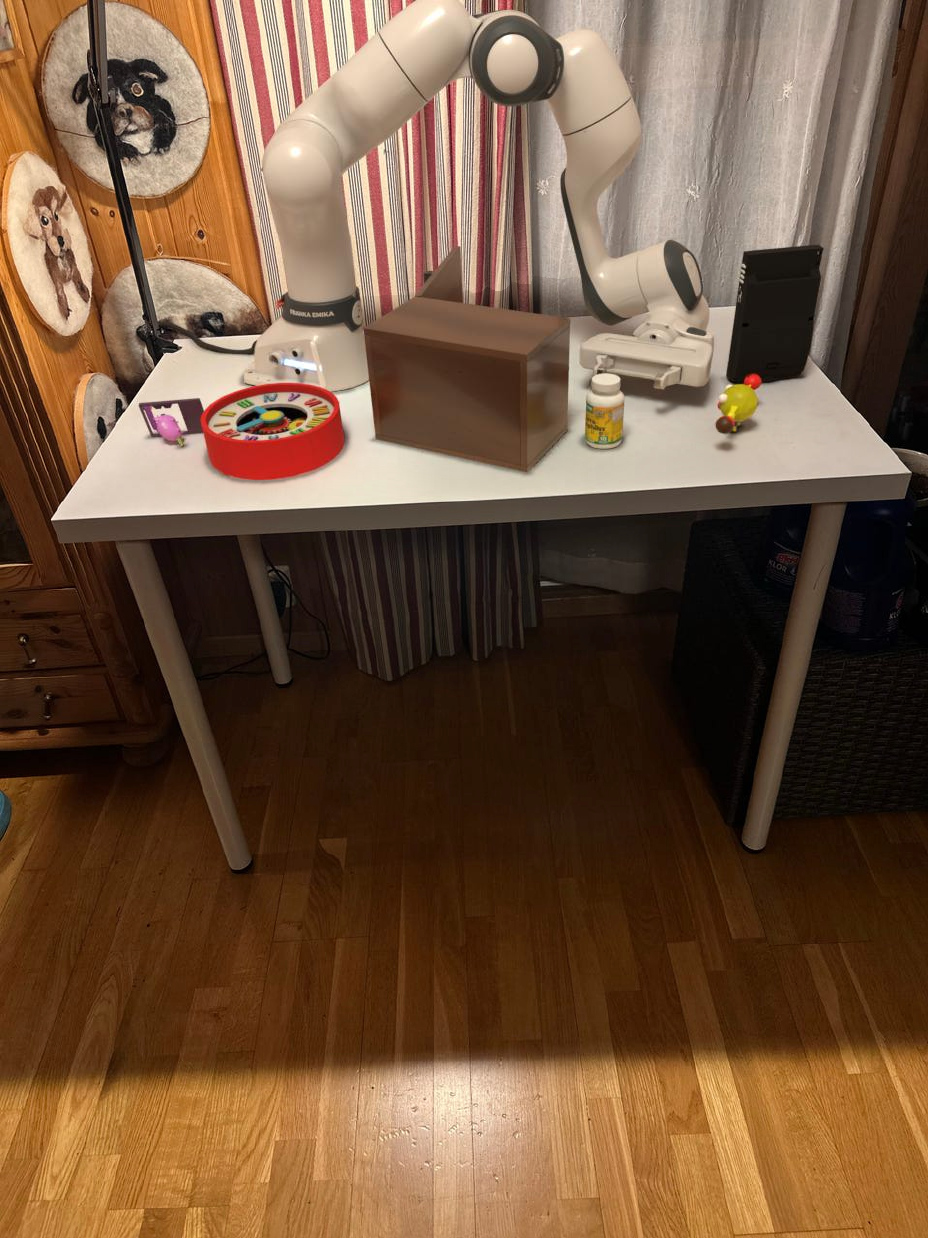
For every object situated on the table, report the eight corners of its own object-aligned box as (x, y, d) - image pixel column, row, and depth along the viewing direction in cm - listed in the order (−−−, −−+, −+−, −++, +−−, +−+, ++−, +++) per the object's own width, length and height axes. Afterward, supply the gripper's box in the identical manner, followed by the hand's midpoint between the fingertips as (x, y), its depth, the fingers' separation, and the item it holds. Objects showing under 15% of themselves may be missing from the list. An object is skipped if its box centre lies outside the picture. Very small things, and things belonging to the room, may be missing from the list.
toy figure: (730, 401, 143) (736, 359, 139) (767, 407, 141) (774, 364, 136) (697, 452, 130) (703, 407, 126) (736, 459, 128) (743, 414, 124)
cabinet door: (390, 397, 149) (380, 294, 139) (431, 340, 168) (424, 245, 158) (428, 400, 148) (420, 295, 137) (464, 341, 167) (460, 245, 156)
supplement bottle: (629, 440, 134) (633, 378, 128) (605, 453, 131) (608, 390, 125) (600, 429, 137) (604, 367, 131) (576, 441, 134) (578, 379, 129)
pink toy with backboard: (199, 394, 137) (138, 399, 137) (198, 419, 134) (135, 424, 134) (210, 426, 143) (152, 431, 142) (209, 451, 140) (149, 456, 140)
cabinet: (423, 402, 147) (415, 296, 137) (567, 431, 137) (570, 318, 127) (375, 439, 138) (363, 328, 127) (527, 473, 128) (526, 354, 117)
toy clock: (367, 408, 133) (247, 457, 122) (371, 445, 136) (255, 495, 126) (289, 371, 145) (175, 412, 135) (295, 406, 148) (184, 448, 138)
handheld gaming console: (794, 369, 151) (817, 243, 139) (806, 381, 147) (831, 251, 135) (723, 377, 150) (740, 250, 138) (733, 388, 146) (752, 259, 134)
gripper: (598, 317, 148) (563, 347, 139) (724, 335, 140) (696, 368, 131) (596, 355, 152) (563, 387, 143) (719, 374, 144) (691, 410, 135)
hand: (628, 378), depth 137 cm, fingers open, 8 cm apart
